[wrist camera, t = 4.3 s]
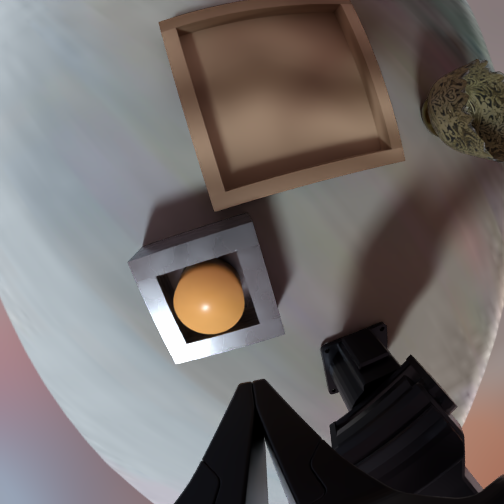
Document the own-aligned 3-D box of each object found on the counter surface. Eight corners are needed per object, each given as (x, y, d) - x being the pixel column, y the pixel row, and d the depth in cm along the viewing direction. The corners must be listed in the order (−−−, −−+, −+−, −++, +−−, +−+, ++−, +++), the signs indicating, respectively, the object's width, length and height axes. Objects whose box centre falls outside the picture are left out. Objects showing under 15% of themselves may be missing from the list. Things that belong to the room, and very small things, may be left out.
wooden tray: (390, 160, 20) (405, 160, 18) (215, 207, 20) (214, 212, 18) (337, 6, 16) (347, -6, 14) (163, 34, 15) (158, 22, 13)
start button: (249, 305, 20) (253, 323, 18) (192, 322, 20) (188, 341, 18) (230, 249, 19) (231, 261, 17) (169, 268, 19) (162, 282, 17)
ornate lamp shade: (397, 143, 19) (467, 140, 12) (402, 65, 17) (464, 40, 10) (456, 168, 20) (521, 176, 13) (460, 97, 18) (520, 89, 11)
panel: (276, 310, 22) (285, 334, 19) (181, 337, 22) (176, 363, 19) (247, 212, 20) (252, 221, 16) (141, 247, 20) (127, 262, 16)
